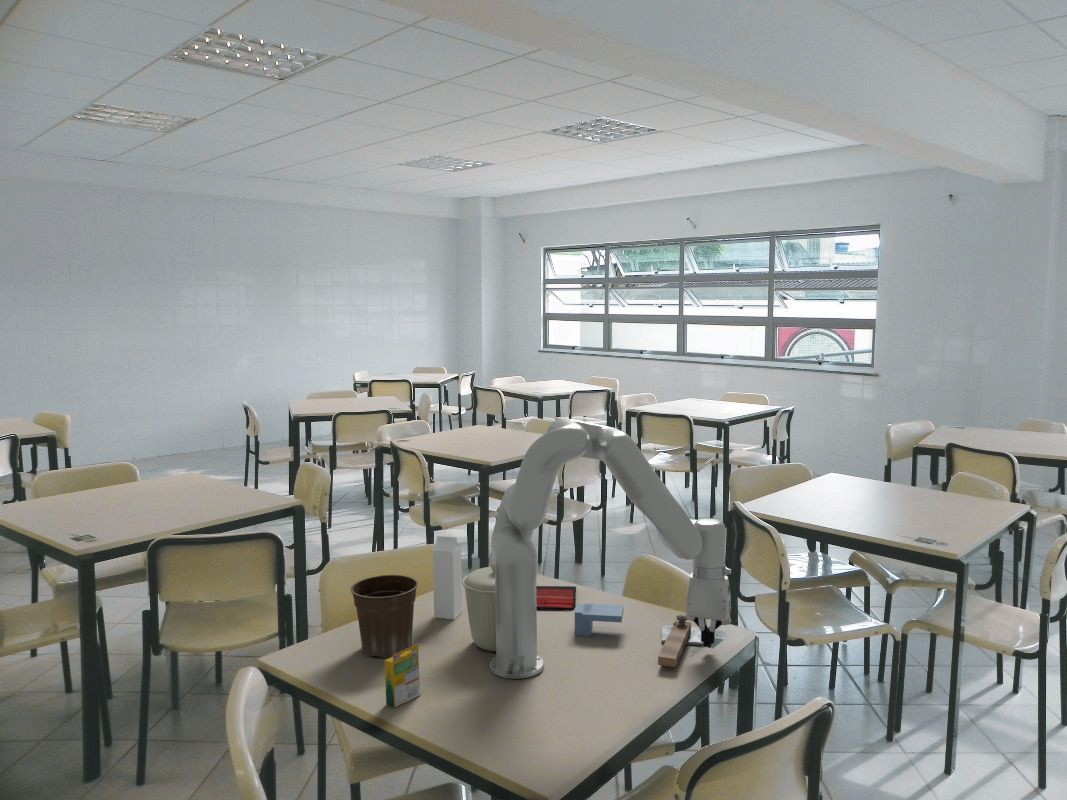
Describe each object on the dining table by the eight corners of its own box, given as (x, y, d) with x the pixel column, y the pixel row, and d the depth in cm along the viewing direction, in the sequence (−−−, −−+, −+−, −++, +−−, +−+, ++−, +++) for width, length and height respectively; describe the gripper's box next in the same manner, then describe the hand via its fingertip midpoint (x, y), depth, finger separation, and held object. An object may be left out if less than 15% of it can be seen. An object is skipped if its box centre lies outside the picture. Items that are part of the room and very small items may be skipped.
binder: (506, 584, 237) (576, 585, 236) (506, 591, 238) (576, 592, 236) (500, 605, 222) (575, 607, 220) (500, 613, 222) (575, 615, 220)
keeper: (621, 639, 200) (621, 616, 199) (574, 636, 202) (574, 613, 201) (623, 627, 208) (623, 605, 207) (577, 624, 210) (577, 602, 209)
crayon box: (411, 691, 173) (409, 640, 172) (420, 695, 171) (419, 643, 170) (385, 704, 167) (383, 651, 166) (394, 708, 166) (393, 654, 164)
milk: (442, 610, 222) (440, 533, 220) (462, 612, 220) (461, 534, 218) (433, 618, 216) (431, 538, 214) (454, 620, 214) (452, 540, 212)
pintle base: (702, 645, 196) (702, 642, 196) (661, 643, 197) (661, 640, 197) (701, 630, 205) (701, 627, 205) (662, 627, 207) (662, 624, 207)
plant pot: (372, 668, 185) (370, 601, 183) (341, 647, 197) (339, 584, 196) (432, 649, 195) (430, 586, 193) (398, 630, 207) (397, 570, 206)
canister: (451, 654, 192) (449, 569, 190) (478, 626, 210) (477, 548, 207) (522, 662, 187) (521, 575, 185) (544, 633, 204) (543, 553, 202)
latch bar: (674, 628, 204) (674, 612, 204) (692, 630, 203) (692, 614, 202) (657, 665, 182) (657, 647, 182) (676, 668, 181) (676, 650, 180)
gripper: (742, 569, 190) (741, 643, 192) (680, 563, 195) (679, 635, 197) (738, 579, 183) (737, 656, 185) (674, 572, 189) (673, 647, 190)
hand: (707, 645), depth 191 cm, fingers closed
